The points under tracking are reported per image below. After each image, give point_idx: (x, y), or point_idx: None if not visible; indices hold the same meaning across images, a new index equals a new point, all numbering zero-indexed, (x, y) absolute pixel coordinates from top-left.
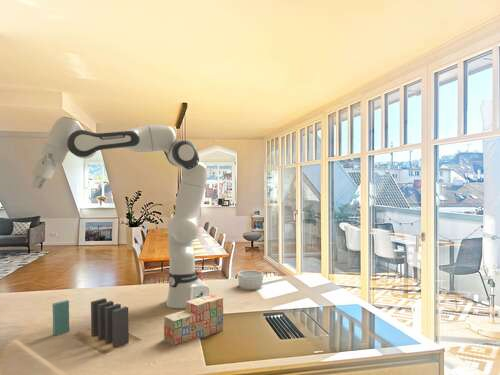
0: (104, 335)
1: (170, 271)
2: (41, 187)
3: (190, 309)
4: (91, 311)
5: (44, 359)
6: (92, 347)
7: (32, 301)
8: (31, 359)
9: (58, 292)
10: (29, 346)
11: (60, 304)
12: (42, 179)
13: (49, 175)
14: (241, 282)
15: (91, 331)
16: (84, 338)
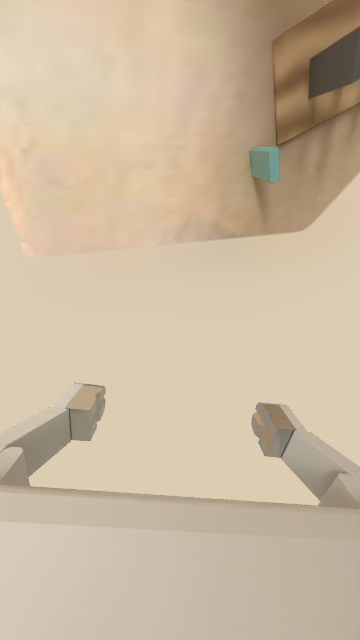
0: None
1: None
2: (95, 390)
3: None
4: (338, 87)
5: (315, 188)
6: (357, 103)
7: (72, 214)
8: (302, 204)
9: (12, 162)
10: (261, 209)
11: (278, 166)
12: (27, 480)
13: (52, 589)
14: None
15: (312, 97)
16: (309, 117)
